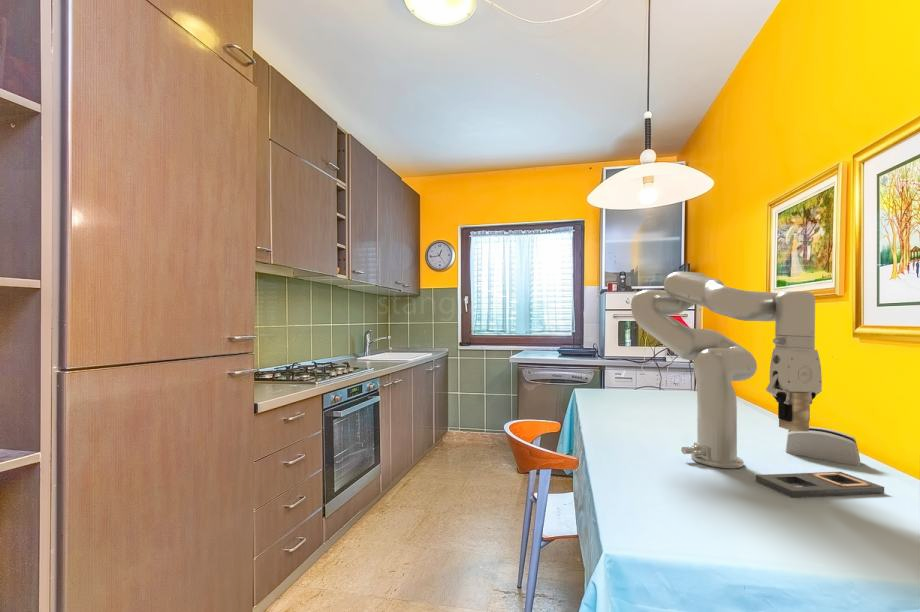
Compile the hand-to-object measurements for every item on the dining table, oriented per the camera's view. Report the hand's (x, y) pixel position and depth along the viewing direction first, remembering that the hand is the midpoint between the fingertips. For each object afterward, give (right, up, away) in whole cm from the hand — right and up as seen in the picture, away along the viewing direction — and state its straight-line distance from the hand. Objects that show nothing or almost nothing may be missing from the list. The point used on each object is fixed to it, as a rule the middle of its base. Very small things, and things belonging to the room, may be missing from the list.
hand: (793, 419), depth 103 cm
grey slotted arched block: (+25, -18, +23) cm, 38 cm away
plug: (0, -2, 0) cm, 2 cm away
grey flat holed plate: (+6, -16, 0) cm, 17 cm away
